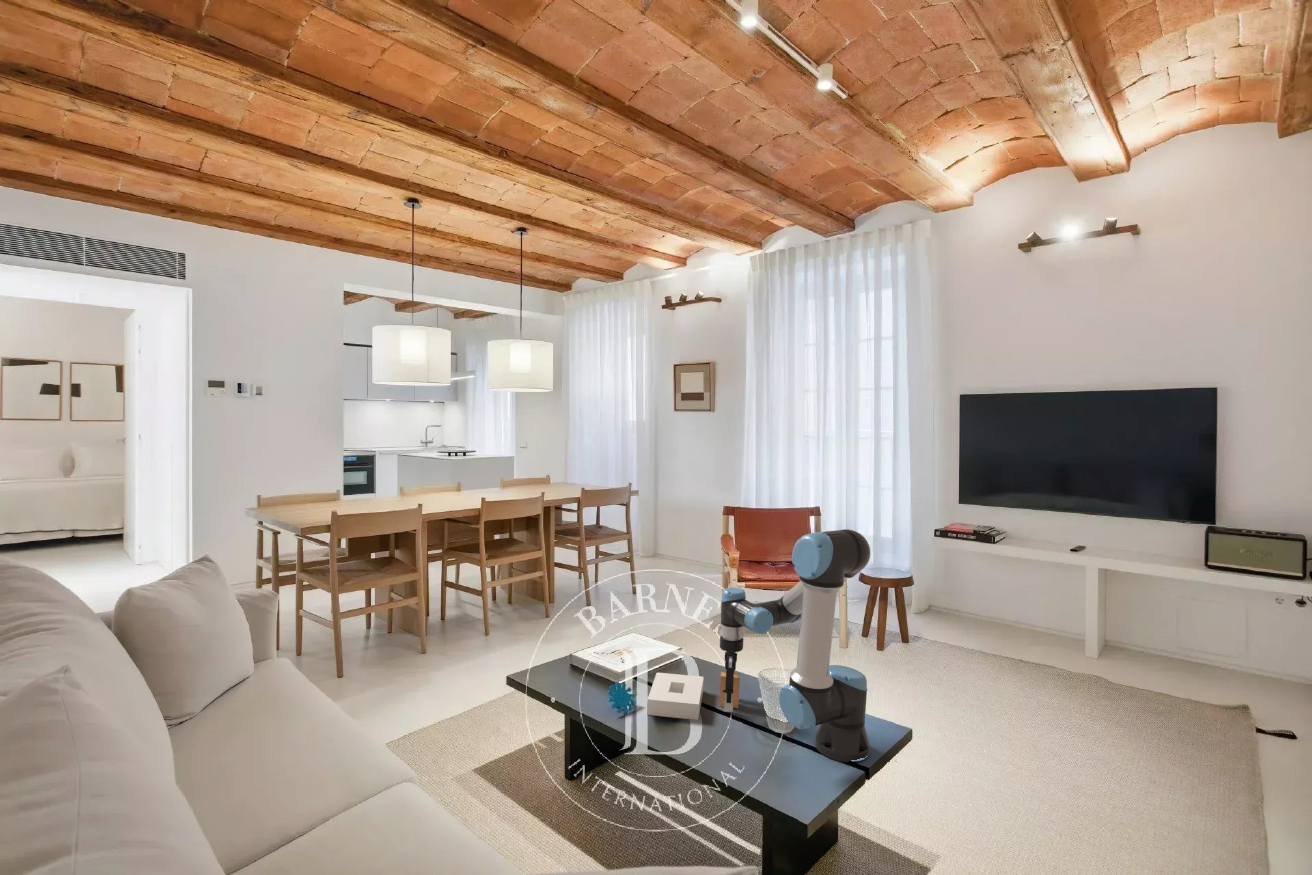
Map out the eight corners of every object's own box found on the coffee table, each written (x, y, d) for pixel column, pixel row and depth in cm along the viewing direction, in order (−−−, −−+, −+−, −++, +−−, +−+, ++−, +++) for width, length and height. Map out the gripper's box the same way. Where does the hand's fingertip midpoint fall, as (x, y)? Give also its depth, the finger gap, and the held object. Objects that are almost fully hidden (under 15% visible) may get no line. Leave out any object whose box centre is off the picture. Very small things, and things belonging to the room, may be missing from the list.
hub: (698, 719, 205) (698, 704, 205) (647, 714, 207) (647, 699, 207) (703, 691, 225) (703, 676, 225) (656, 686, 227) (656, 672, 227)
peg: (738, 707, 214) (739, 677, 213) (719, 706, 215) (720, 675, 214) (738, 703, 217) (739, 673, 216) (719, 701, 218) (721, 672, 217)
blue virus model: (614, 714, 204) (605, 682, 209) (605, 722, 207) (596, 690, 213) (643, 709, 211) (633, 679, 216) (633, 717, 214) (624, 687, 219)
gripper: (721, 623, 225) (718, 687, 227) (718, 648, 204) (715, 719, 206) (743, 625, 224) (741, 690, 226) (743, 650, 203) (739, 721, 204)
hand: (728, 703), depth 216 cm, fingers open, 9 cm apart
